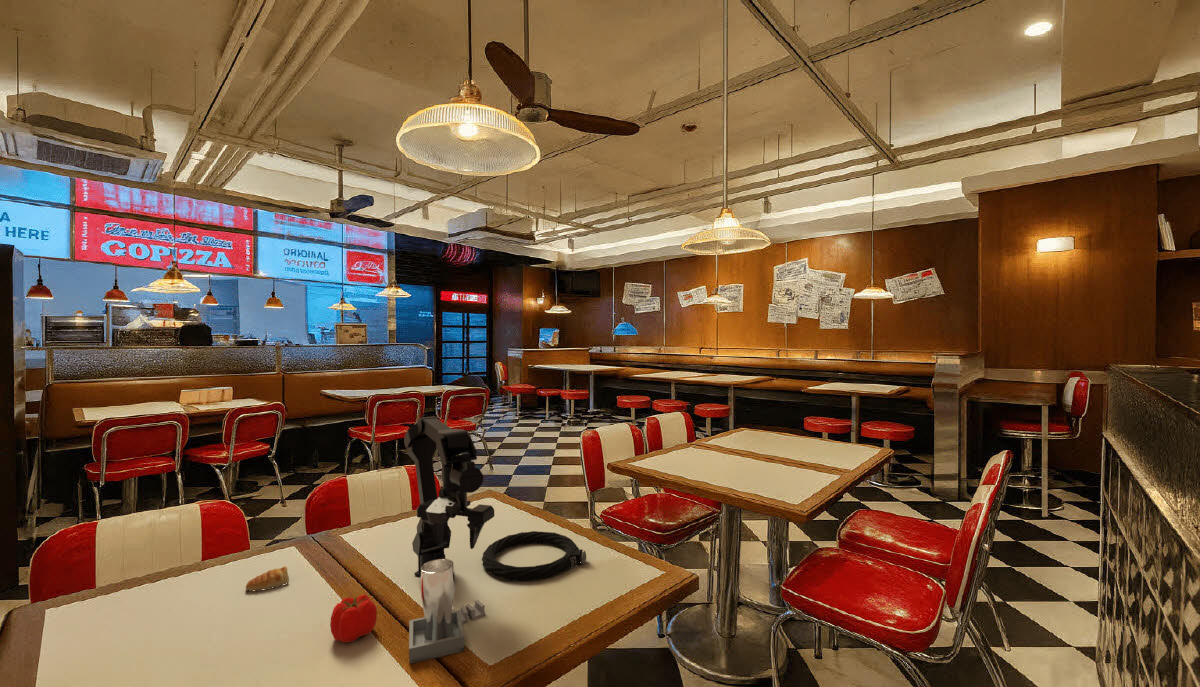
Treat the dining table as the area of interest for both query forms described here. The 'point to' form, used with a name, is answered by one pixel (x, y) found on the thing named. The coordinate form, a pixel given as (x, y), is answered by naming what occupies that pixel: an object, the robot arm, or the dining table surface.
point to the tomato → (353, 618)
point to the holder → (435, 648)
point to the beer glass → (437, 598)
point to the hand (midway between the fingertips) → (456, 546)
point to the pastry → (269, 579)
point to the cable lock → (532, 572)
